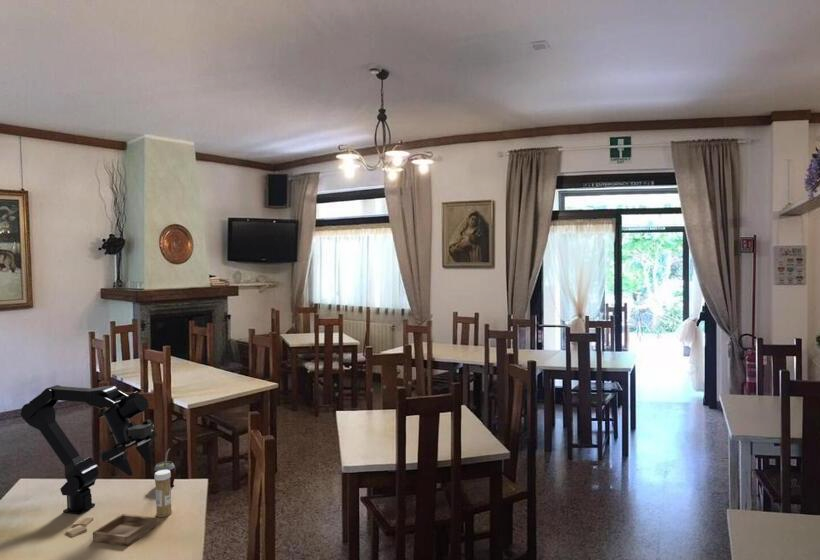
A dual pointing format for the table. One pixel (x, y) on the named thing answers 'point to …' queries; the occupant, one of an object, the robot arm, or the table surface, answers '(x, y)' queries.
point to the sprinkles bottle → (163, 493)
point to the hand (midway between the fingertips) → (141, 469)
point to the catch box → (124, 529)
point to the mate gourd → (166, 468)
